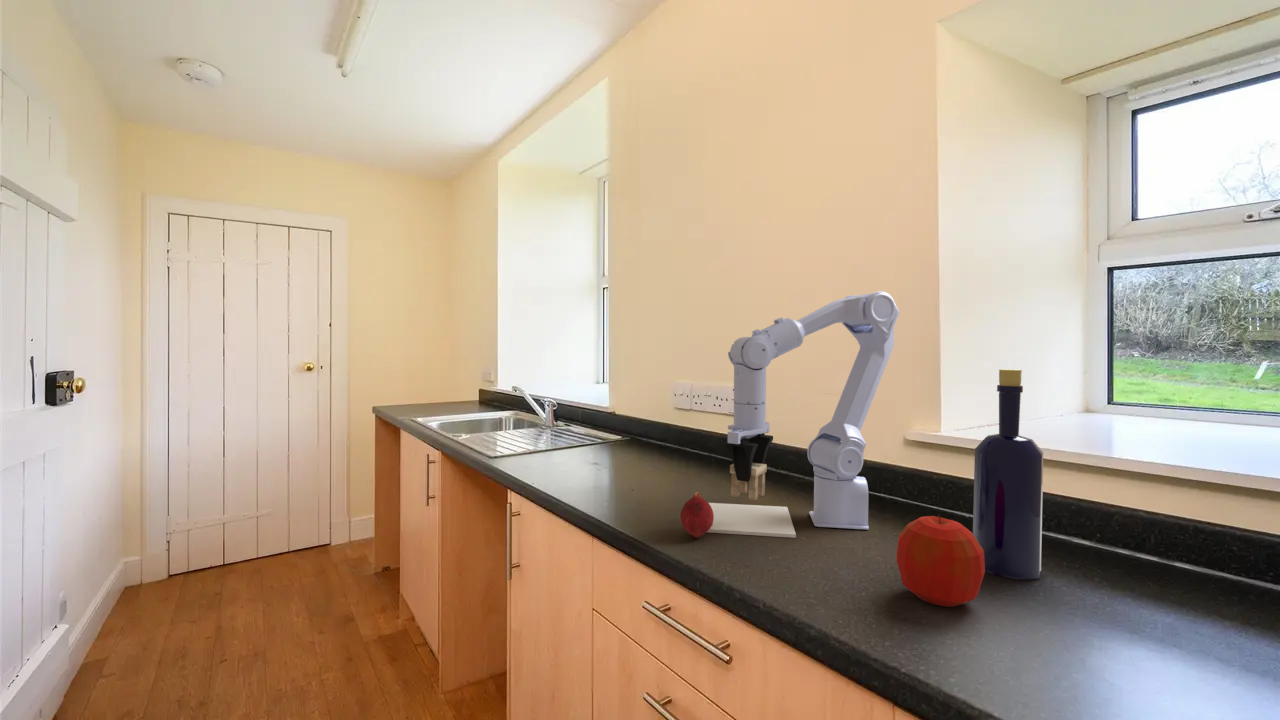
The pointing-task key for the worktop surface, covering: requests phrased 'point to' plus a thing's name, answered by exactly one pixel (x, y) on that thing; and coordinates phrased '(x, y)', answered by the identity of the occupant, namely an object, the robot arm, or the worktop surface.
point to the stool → (750, 482)
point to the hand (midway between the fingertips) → (749, 477)
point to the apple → (940, 561)
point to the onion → (697, 516)
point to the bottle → (1009, 491)
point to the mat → (752, 520)
